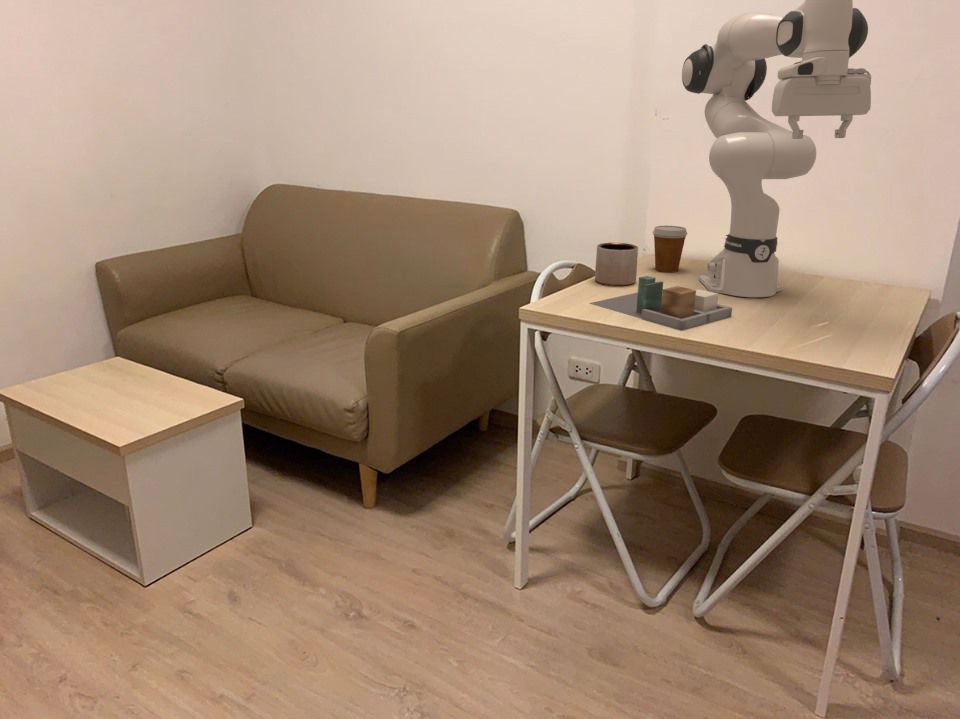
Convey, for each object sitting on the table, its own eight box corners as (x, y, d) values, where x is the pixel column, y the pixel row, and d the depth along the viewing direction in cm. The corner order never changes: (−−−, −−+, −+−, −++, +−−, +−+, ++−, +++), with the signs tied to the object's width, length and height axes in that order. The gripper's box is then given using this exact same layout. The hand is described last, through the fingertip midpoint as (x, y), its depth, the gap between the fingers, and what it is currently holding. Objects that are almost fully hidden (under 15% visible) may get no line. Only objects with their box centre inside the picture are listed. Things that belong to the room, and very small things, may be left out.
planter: (598, 286, 199) (600, 250, 196) (591, 277, 210) (593, 242, 206) (639, 286, 200) (642, 250, 196) (631, 277, 210) (633, 242, 207)
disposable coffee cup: (687, 274, 214) (692, 231, 210) (653, 273, 214) (657, 230, 210) (678, 266, 223) (682, 225, 219) (646, 266, 223) (649, 225, 219)
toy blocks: (631, 312, 174) (634, 278, 171) (648, 308, 177) (650, 274, 175) (677, 325, 165) (681, 289, 162) (693, 321, 168) (697, 285, 165)
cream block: (683, 314, 173) (686, 292, 172) (697, 310, 176) (699, 289, 175) (702, 319, 170) (704, 297, 168) (716, 315, 172) (718, 293, 171)
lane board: (588, 305, 182) (589, 295, 181) (638, 294, 192) (639, 284, 191) (681, 332, 162) (682, 321, 161) (731, 318, 172) (732, 307, 171)
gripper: (862, 70, 162) (856, 138, 165) (770, 70, 160) (765, 139, 163) (881, 66, 156) (874, 137, 159) (785, 67, 154) (780, 138, 157)
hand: (818, 138), depth 161 cm, fingers open, 8 cm apart
